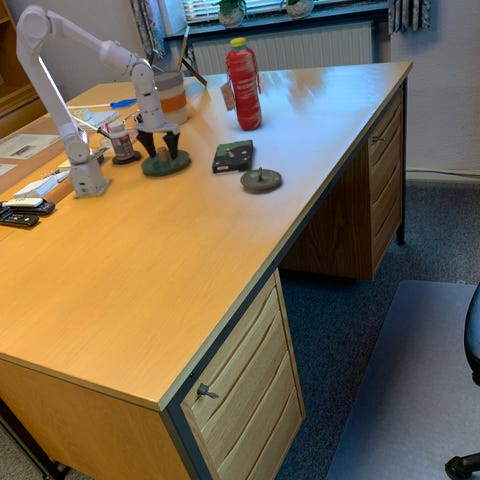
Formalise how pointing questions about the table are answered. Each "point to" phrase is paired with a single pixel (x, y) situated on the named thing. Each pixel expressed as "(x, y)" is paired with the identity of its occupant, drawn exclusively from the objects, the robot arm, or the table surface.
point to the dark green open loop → (167, 171)
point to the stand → (123, 162)
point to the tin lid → (164, 161)
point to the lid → (261, 179)
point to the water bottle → (242, 85)
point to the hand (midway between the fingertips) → (164, 157)
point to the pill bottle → (120, 140)
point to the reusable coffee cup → (171, 95)
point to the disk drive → (233, 157)
